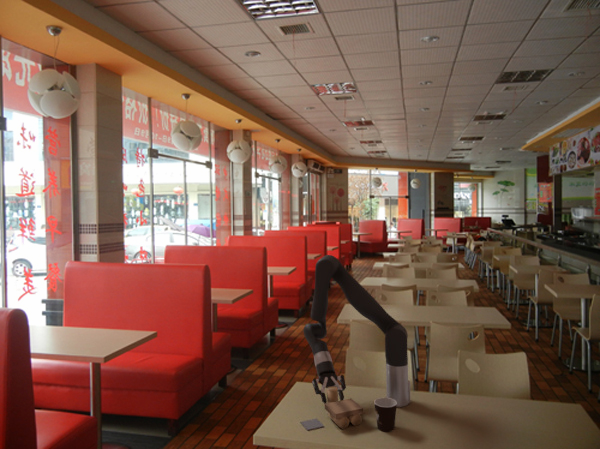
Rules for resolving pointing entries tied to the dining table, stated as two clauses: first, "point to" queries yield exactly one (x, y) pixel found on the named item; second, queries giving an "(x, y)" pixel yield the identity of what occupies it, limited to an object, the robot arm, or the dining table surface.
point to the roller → (332, 394)
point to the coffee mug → (385, 413)
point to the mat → (312, 424)
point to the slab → (344, 412)
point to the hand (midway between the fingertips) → (333, 401)
